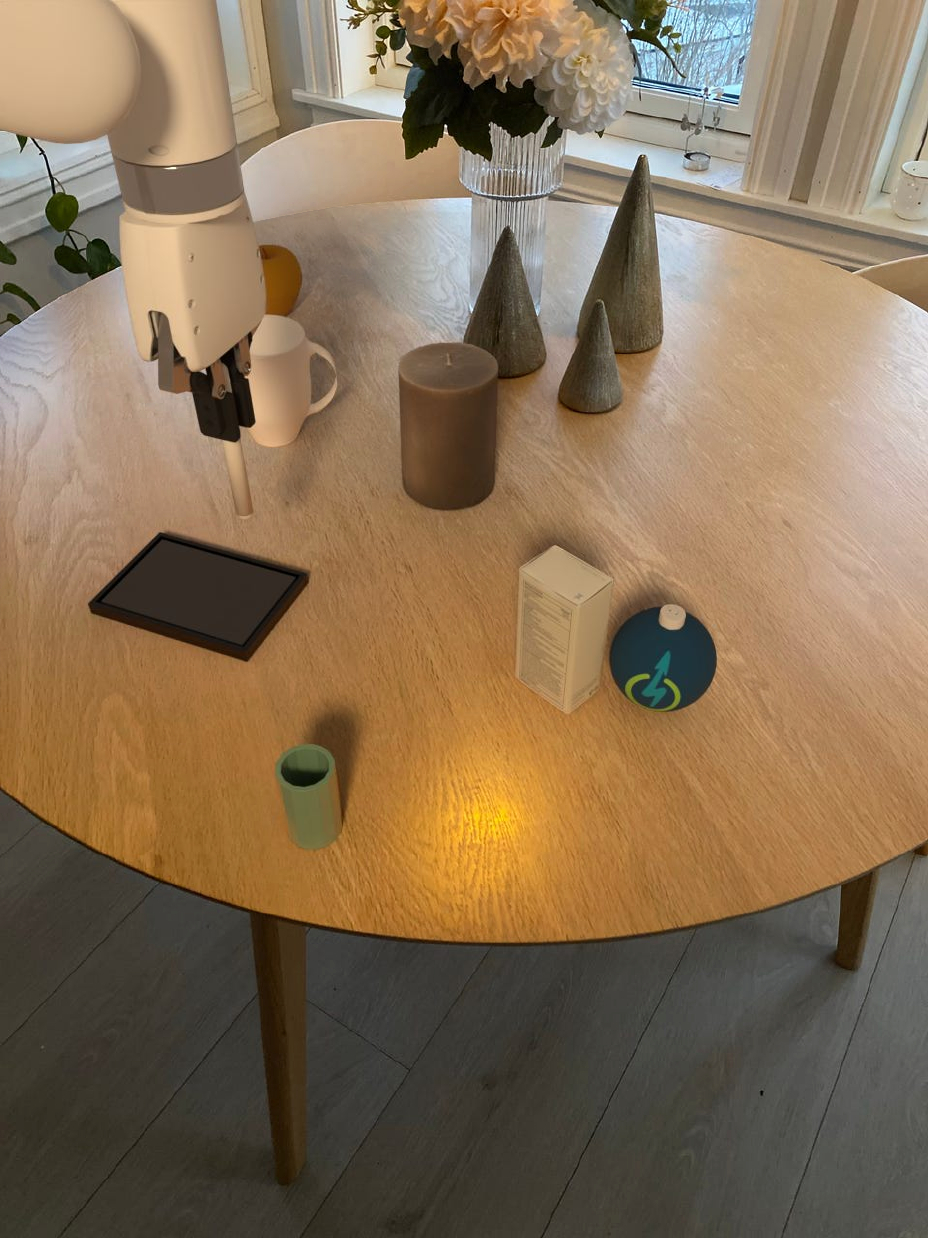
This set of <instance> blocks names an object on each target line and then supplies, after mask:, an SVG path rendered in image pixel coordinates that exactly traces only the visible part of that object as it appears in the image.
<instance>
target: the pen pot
mask: <svg viewBox="0 0 928 1238" xmlns="http://www.w3.org/2000/svg"><path fill="white" fill-rule="evenodd" d="M337 774H338V773H337V765H336V760H335V758H334V756H333V754H332V753H331V752H330V750H328V749H326V748H325V747H323V746H321V745H319V744H314V743H303V744H298V745H294V746H292V747H290V748H288V749H287V750H285V751H284V752H282V754H281V755H280V757H279V758H278V759H277V761H276V762H275V768H274V777H275V782H276V787H277V790H278V798H279V802H280V806H281V811H282V817H283V822H284V826H285V830H286V833H287V836H288V839H289V840H290V841H291V843H292V844H294V845H295V846H296V847H298V848H300V849H303V850H309V851H315V850H321V849H324V848H326V847H329V846H330V845H331V844H333V843H335V842H336V840H337V839H338V838H339V836H340V834H341V833H342V829H343V813H342V806H341V798H340V797H341V796H340V789H339V783H338V782H339V781H338V775H337Z"/></svg>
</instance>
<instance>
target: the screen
mask: <svg viewBox="0 0 928 1238" xmlns="http://www.w3.org/2000/svg"><path fill="white" fill-rule="evenodd" d="M295 580H296V577H293V576H290V575H286V574H283V573H279V572H276V571H272V570H268V569H265V568H261V567H258V566H254V565H251V564H247V563H244V562H240V561H237V560H233V559H229V558H226V557H222V556H219V555H215V554H212V553H208V552H205V551H201V550H198V549H194V548H191V547H187V546H183V545H180V544H176V543H173V542H169V541H166V540H161V541H160V542H159V543H158V544H157V545H156V546H155V547H154V548H153V549H152V550H151V551H150V552H149V553H148V554H147V555H146V556H145V557H144V558H143V559H142V560H141V561H140V562H139V563H138V564H137V565H136V566H135V567H134V568H133V569H132V570H131V571H130V572H129V573H128V574H127V575H126V576H125V577H124V578H123V579H122V580H121V581H120V582H119V583H118V584H117V585H116V586H115V587H114V588H113V589H112V590H111V591H110V592H109V594H108V595H107V596H106V597H105V598H104V599H103V600H102V601H101V602H102V604H106V605H109V606H112V607H115V608H119V609H122V610H125V611H128V612H132V613H135V614H138V615H141V616H145V617H148V618H151V619H154V620H157V621H161V622H164V623H167V624H170V625H174V626H177V627H180V628H183V629H187V630H190V631H193V632H196V633H200V634H203V635H206V636H209V637H213V638H216V639H219V640H222V641H226V642H229V643H232V644H235V645H239V646H242V647H243V646H244V645H245V643H246V642H247V641H248V639H249V638H250V637H251V636H252V634H253V633H254V632H255V631H256V629H257V628H258V627H259V626H260V624H261V623H262V622H263V621H264V619H265V618H266V617H267V615H268V614H269V613H270V612H271V610H272V609H273V608H274V607H275V605H276V604H277V603H278V602H279V600H280V599H281V598H282V597H283V595H284V594H285V593H286V591H287V590H288V589H289V588H290V586H291V585H292V584H293V583H294V581H295Z"/></svg>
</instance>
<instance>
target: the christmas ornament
mask: <svg viewBox="0 0 928 1238" xmlns="http://www.w3.org/2000/svg"><path fill="white" fill-rule="evenodd" d="M608 662H609V668H610V672H611V676H612V679H613V681H614V683H615V685H616V686H617V688H618V689H619V691H620V692H621V693H622V694H623V696H624V697H625V698H626V699H628V700H629V701H630V702H632V703H633V704H634V705H636V706H637V707H640V708H643V709H645V710H648V711H653V712H660V713H669V712H675V711H679V710H682V709H684V708H685V709H686V708H687V707H689V706H691V705H692V704H694V703H696V702H697V701H698V700H700V699H701V698H702V697H703V696H704V694H705V693H706V692H707V691H708V689H709V688H710V686H711V684H712V683H713V680H714V678H715V675H716V672H717V667H718V666H717V665H718V654H717V648H716V644H715V642H714V639H713V637H712V635H711V633H710V631H709V630H708V628H707V627H706V626H705V624H704V623H703V622H702V621H700V619H698V617H696V616H695V615H693V614H692V613H689V612H688V611H686V610H685V609H684V608H683V607H682V606H680V605H678V604H674V603H669V604H667V603H666V604H665V605H663V606H653V607H648V608H645V609H642V610H640V611H638V612H636V613H634V614H633V615H631V616H630V617H629V618H627V619H626V620H625V621H624V622H623V623H622V625H620V626H619V628H618V629H617V631H616V632H615V635H614V637H613V639H612V641H611V645H610V649H609V661H608Z"/></svg>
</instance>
